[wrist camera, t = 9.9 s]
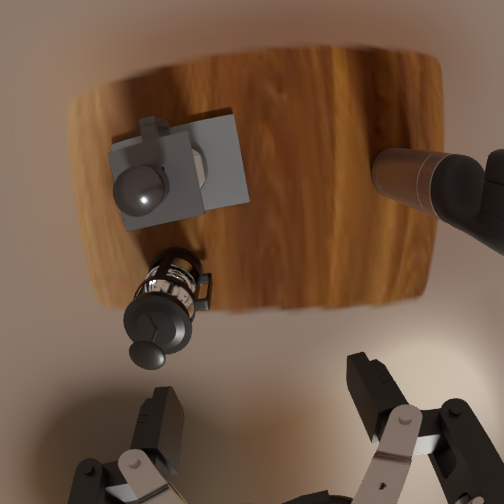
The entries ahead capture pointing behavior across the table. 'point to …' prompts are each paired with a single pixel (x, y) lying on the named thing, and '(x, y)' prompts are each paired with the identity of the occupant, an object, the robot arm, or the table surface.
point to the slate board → (214, 159)
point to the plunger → (140, 189)
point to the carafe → (175, 166)
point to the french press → (165, 308)
